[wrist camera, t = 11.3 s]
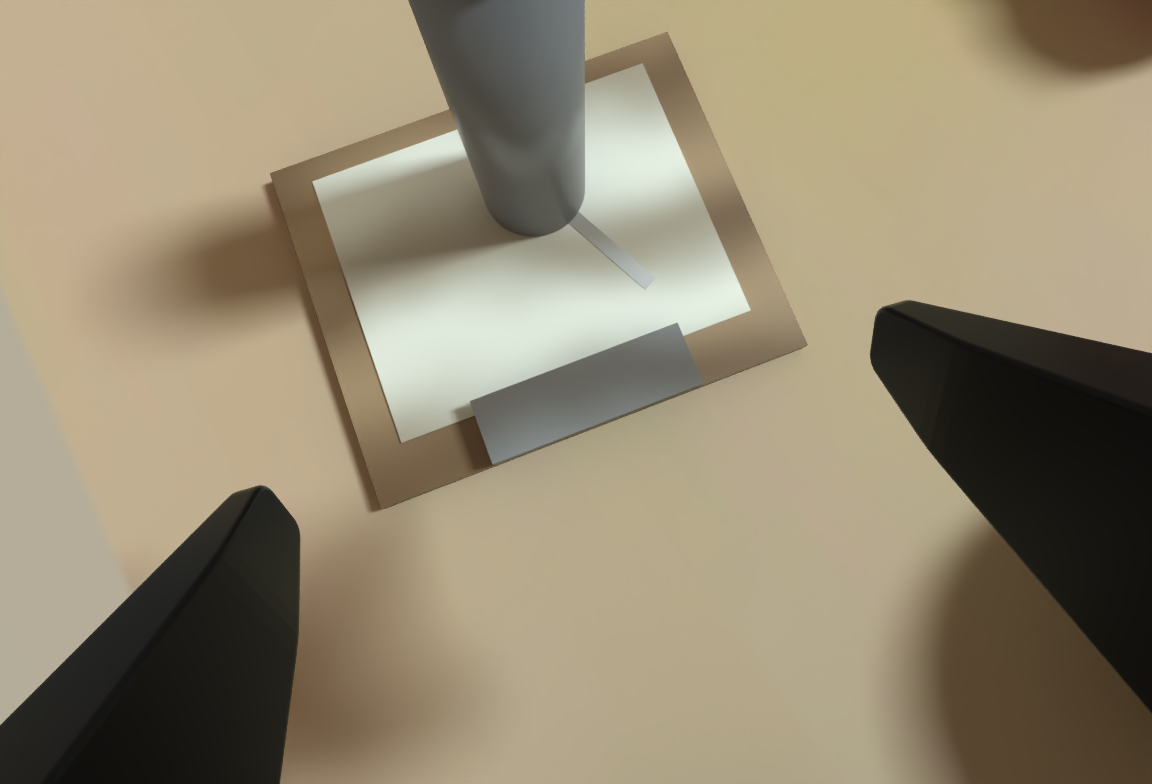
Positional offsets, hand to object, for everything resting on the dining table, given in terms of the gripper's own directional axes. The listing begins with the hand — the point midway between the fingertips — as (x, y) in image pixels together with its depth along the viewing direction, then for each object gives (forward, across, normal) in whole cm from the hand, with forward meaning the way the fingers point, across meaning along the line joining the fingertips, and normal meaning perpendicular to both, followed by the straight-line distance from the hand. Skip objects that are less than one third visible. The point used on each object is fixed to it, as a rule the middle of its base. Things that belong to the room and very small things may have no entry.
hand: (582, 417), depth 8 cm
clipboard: (+15, 0, +4) cm, 16 cm away
